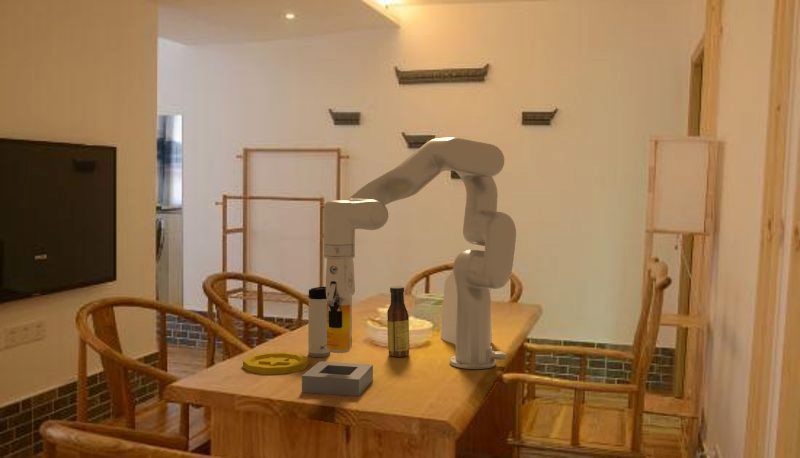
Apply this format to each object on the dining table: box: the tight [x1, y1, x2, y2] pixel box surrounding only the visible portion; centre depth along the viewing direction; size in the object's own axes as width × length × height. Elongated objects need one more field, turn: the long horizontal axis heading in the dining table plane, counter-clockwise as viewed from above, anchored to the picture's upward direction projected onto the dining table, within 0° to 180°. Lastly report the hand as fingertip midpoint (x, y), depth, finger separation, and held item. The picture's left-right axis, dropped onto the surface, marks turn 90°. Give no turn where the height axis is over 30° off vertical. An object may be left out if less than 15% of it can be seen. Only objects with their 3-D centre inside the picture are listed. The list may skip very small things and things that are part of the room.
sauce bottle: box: [386, 285, 411, 358], centre depth 210 cm, size 6×6×20 cm
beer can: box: [327, 293, 353, 354], centre depth 178 cm, size 6×6×15 cm
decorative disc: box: [242, 351, 310, 375], centre depth 198 cm, size 17×18×2 cm
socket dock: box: [301, 360, 374, 397], centre depth 179 cm, size 14×14×4 cm
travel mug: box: [307, 286, 331, 358], centre depth 210 cm, size 6×7×20 cm
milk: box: [440, 270, 493, 346], centre depth 230 cm, size 12×12×26 cm
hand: (339, 324), depth 178 cm, fingers closed on beer can, 6 cm apart
